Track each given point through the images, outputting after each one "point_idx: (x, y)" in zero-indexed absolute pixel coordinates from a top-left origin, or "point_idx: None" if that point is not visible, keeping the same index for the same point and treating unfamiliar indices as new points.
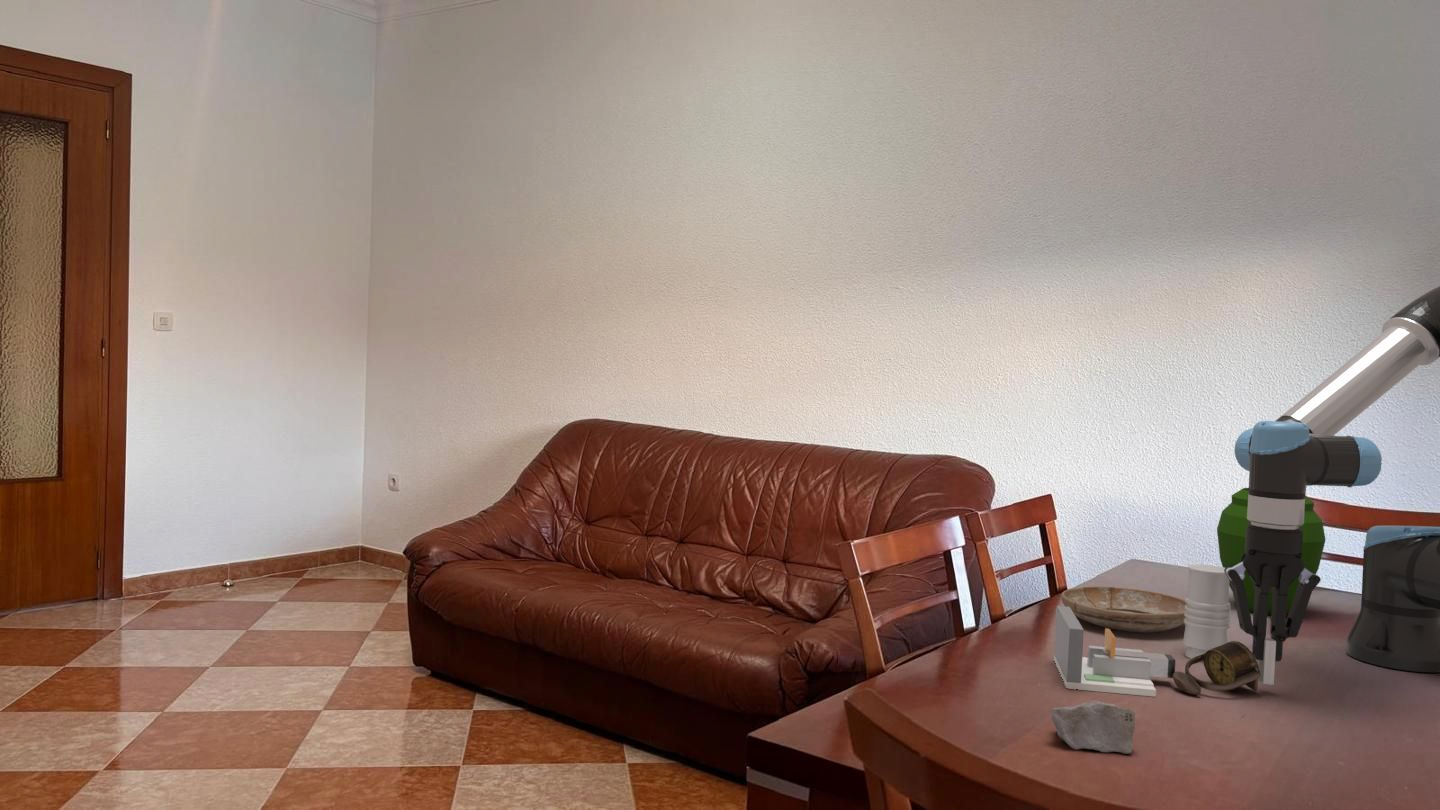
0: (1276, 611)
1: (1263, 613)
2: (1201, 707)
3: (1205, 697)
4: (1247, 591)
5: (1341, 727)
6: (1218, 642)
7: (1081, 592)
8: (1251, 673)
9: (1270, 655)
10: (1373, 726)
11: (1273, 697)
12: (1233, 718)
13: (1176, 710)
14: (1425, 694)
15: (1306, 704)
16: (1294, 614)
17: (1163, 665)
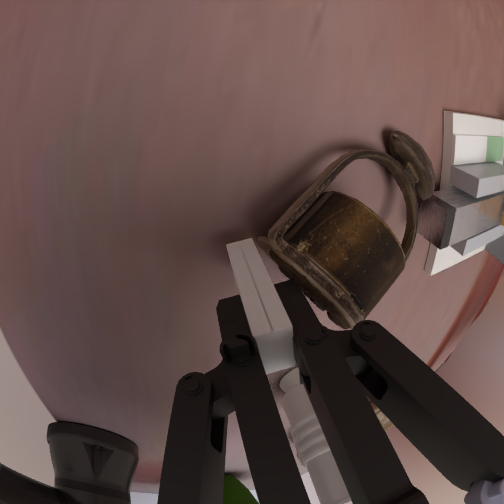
0: (292, 455)
1: (352, 418)
2: (389, 63)
3: (373, 139)
4: (234, 487)
5: (85, 51)
6: (304, 394)
7: (383, 427)
8: (294, 230)
9: (256, 292)
10: (23, 115)
11: (221, 219)
12: (337, 5)
13: (423, 38)
14: (20, 364)
15: (147, 203)
16: (205, 466)
17: (451, 201)
